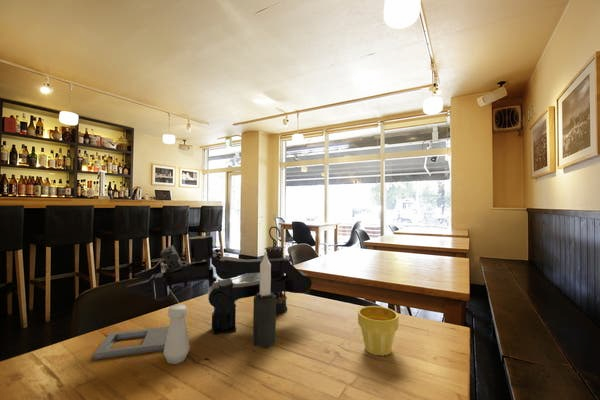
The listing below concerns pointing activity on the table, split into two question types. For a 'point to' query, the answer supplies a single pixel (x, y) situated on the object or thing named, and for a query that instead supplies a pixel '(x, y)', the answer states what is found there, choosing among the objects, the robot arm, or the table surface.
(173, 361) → the salt shaker
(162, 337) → the rail plate
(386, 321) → the plant pot
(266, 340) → the candle
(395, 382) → the table surface
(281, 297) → the lantern
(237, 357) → the table surface
